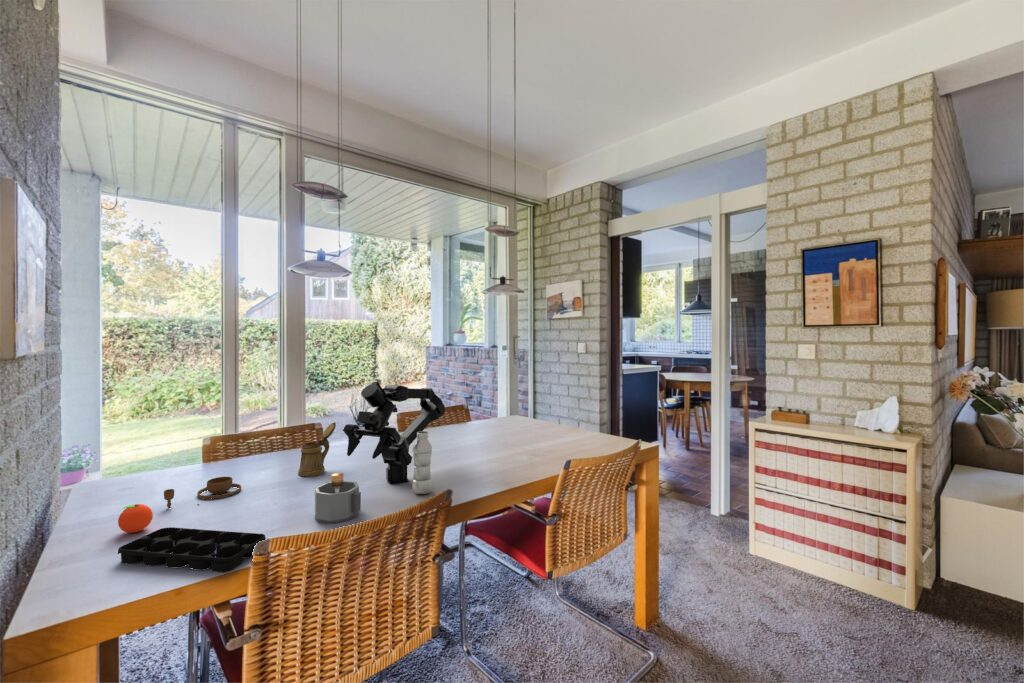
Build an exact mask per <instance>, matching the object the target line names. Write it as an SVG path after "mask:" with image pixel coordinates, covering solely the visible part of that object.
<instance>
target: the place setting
mask: <svg viewBox="0 0 1024 683" xmlns="http://www.w3.org/2000/svg"><path fill="white" fill-rule="evenodd" d="M231 487H237V488H239V489H236V490H234V491H231V492H228V491H229V490H231V489H232V488H231ZM241 489H242V485H241V484H239V483H233V477H231V476H218V477H214V478H210V479H209V480H207V481H206V486H205V487H204V488H202V489H200V490H198V491H197V494H196V495H197V497H198V498H199V499H201V498H204V499H203V500H214V499H213V498H220V499H222V498H221V497H225V496H229V497H231V496H230V495H232V496H234V495H236V494H235V493H237V492H238V493H240V492H241ZM207 490H208V493H211V494H212V495H204V494H202V495H200V494H201V493H202V492H204V491H207ZM225 492H226V493H225ZM223 493H224V494H223ZM238 493H237V494H238ZM213 494H221V495H213ZM233 494H234V495H233ZM174 497H175V489H174V488H169V489H166V490H164V491H163V499H164V500H165V501H167V502H166V506H167V508H171V509H172V507H171V506H172V503H171V502H172V500H173V499H174ZM211 498H212V499H211ZM225 498H226V497H225Z"/></svg>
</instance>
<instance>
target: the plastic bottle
mask: <svg viewBox="0 0 1024 683" xmlns="http://www.w3.org/2000/svg"><path fill="white" fill-rule="evenodd" d="M416 439H417V440H416V441H414V443H413V445H412V458H413V478H412V485H411V487H412V492H413V493H414V494H417V495H425V494H429V493H431V491H432V488H433V481H432V480H433V479H432V474H431V473H432V472H431V462H432V460H431V458H432V454H433V446H432V444H431V442H430V441H429V431H425V430H423V431H419V432H417V438H416Z"/></svg>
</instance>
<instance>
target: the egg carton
mask: <svg viewBox="0 0 1024 683" xmlns="http://www.w3.org/2000/svg"><path fill="white" fill-rule="evenodd" d="M265 539H267V537H266V534H264V533H255V532H242V531H240V532H239V531H225V530H211V529H201V528H200V529H199V528H184V527H171V526H169V527H162V528H159V529H157V530H154V531H152V532H150V533H148V534H145V535H143V536H141V537H139V538H137V539H135V540H132V541H130V542H128V543H126V544H123V545H121V546H120V547H119V548H118V549H117V555H119V554H120V562H121V564H125V563H127V565H137V564H139V563H142V562H143V565H144V566H148V565H149V566H150V565H151V567H154V566H155V567H157V566H156V565H158V566H162V565H165V567H166V566H168V567H167V568H170V567H182V566H185V565H187V564H189V565H187V566H188V568H193V569H206V570H208V569H207V568H209V567H210V568H211V571H212V572H214V571H215V573H223V574H224V573H227V572H231V571H234V570H235V569H237V568H238V567H239V566H241V565H242V564H243V562H244V559H247V558H252V557H253V556H252V552H253V549H254V546H255V545H256V543H258V542H259V541H262V540H265ZM265 541H266V540H265ZM215 543H217V544H215ZM215 550H216V551H215ZM149 551H150V552H149ZM214 551H215V552H216V553H215V552H214ZM172 552H173V553H172ZM170 553H171V554H170ZM215 556H216V557H215ZM251 556H252V557H251ZM243 557H245V558H243ZM164 563H165V564H164ZM161 564H162V565H161ZM149 566H148V567H149ZM211 566H212V567H211ZM185 567H186V566H185ZM182 568H183V567H182ZM210 568H209V569H210Z"/></svg>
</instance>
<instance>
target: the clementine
mask: <svg viewBox="0 0 1024 683" xmlns="http://www.w3.org/2000/svg"><path fill="white" fill-rule="evenodd" d="M121 510H123V511H122V512H121V513H120V514H119V516H118V518H117V524H118V527H119V528H120V530H121V531H123V532H125V533H130V534H133V533H139V532H141V531H143V530H144V529H146V528H148V526H149V525H150V524H151V522H152V520H153V516H154V515H153V514H154V513H153V510H152V509H151V507H149V506H148V505H145V504H143V503H138V504H136V503H135V504H131V505H128V506H125V507H123V508H120V510H118V512H120V511H121Z"/></svg>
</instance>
